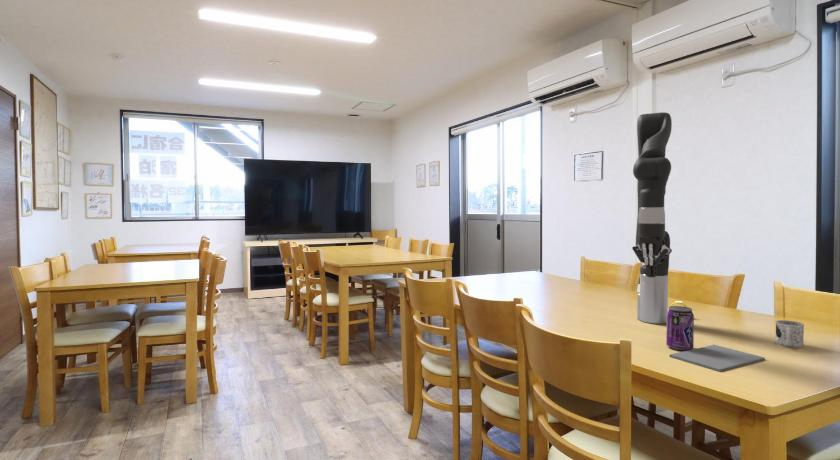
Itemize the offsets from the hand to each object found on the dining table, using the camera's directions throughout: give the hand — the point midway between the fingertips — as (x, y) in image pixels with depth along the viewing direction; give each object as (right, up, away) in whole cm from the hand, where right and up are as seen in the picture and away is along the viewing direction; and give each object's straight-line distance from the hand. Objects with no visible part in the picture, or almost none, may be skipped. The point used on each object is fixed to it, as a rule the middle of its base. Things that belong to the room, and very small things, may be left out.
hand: (651, 277), depth 151 cm
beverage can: (+5, -21, -8) cm, 23 cm away
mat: (+10, -21, -18) cm, 29 cm away
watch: (+25, -18, +31) cm, 44 cm away
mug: (+38, -20, -7) cm, 43 cm away
